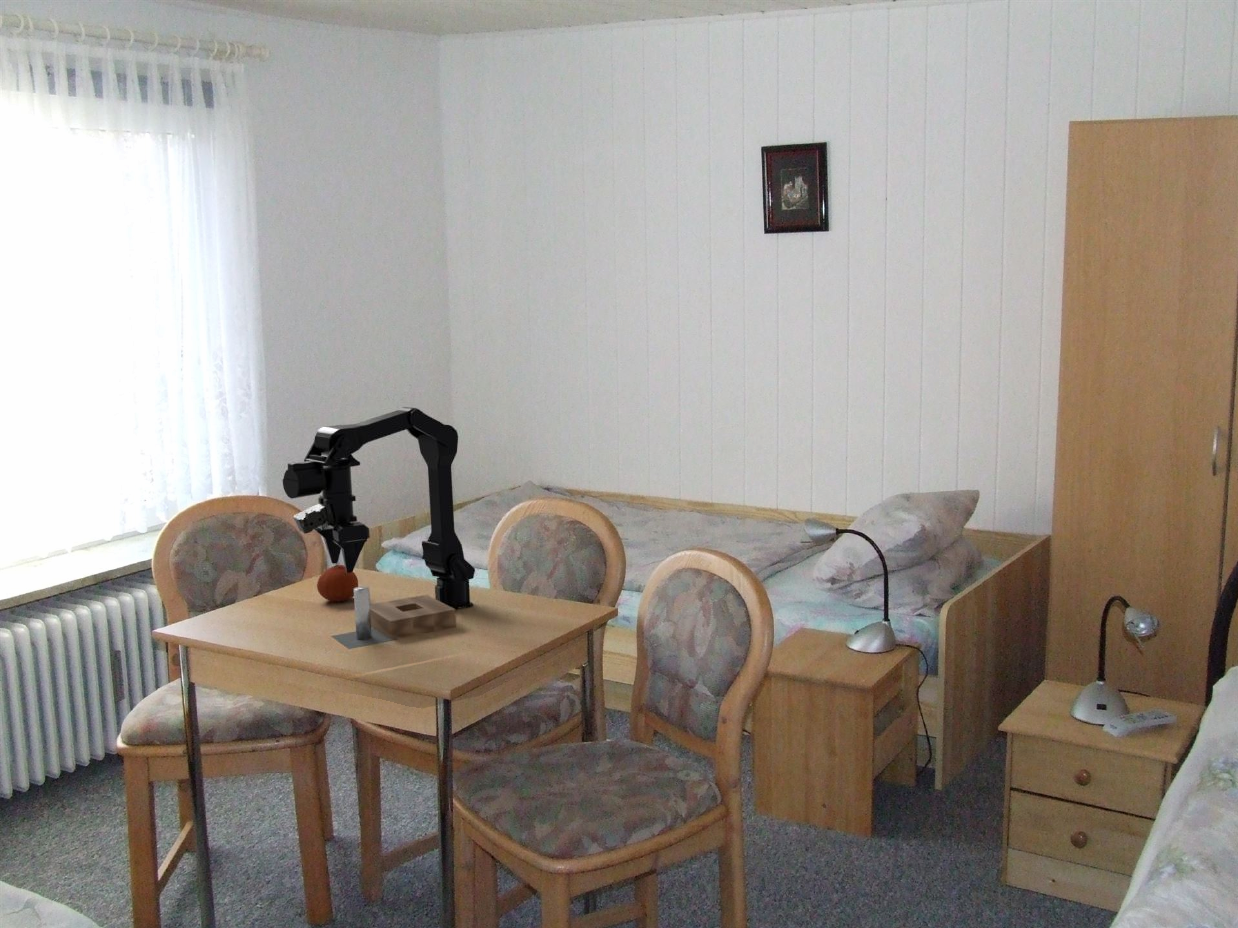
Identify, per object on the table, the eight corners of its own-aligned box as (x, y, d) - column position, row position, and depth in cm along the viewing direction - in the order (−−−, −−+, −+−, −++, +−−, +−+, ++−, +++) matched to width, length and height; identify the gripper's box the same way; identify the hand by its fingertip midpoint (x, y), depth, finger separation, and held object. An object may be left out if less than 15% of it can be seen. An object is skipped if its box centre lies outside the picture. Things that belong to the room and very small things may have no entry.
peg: (368, 634, 248) (365, 585, 247) (374, 638, 246) (371, 588, 244) (354, 637, 247) (351, 587, 245) (359, 640, 244) (356, 591, 242)
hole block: (427, 612, 264) (426, 594, 263) (456, 628, 252) (455, 609, 252) (364, 624, 257) (363, 605, 256) (391, 640, 245) (390, 621, 244)
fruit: (319, 596, 279) (317, 561, 277) (359, 594, 280) (357, 559, 279) (316, 607, 270) (314, 571, 269) (358, 604, 272) (356, 568, 270)
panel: (378, 629, 253) (378, 627, 253) (397, 641, 245) (397, 639, 245) (331, 637, 248) (330, 635, 248) (349, 650, 239) (348, 648, 239)
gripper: (283, 488, 249) (288, 564, 252) (311, 503, 233) (316, 584, 236) (337, 482, 255) (341, 556, 257) (368, 496, 239) (372, 575, 242)
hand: (341, 567), depth 248 cm, fingers open, 9 cm apart
